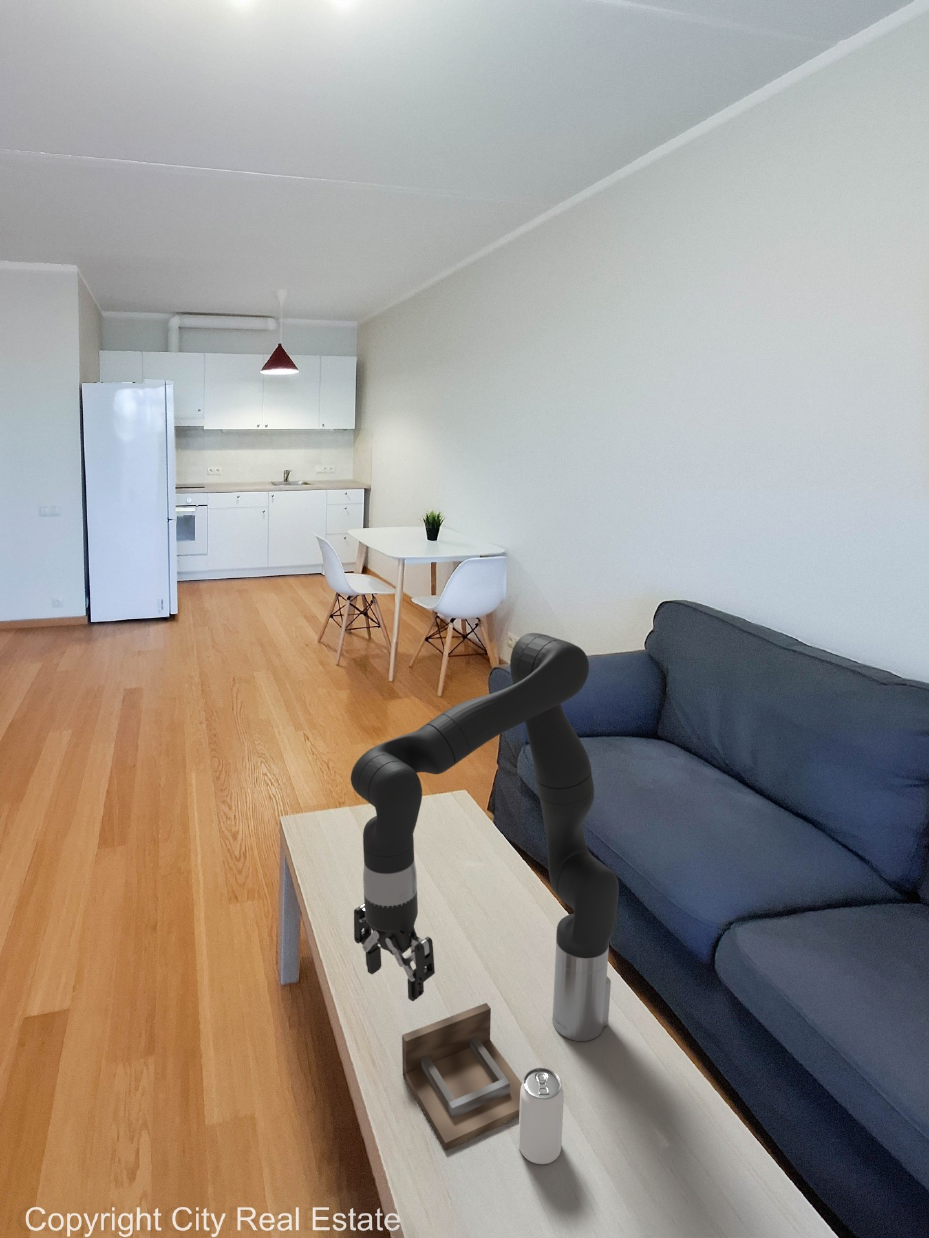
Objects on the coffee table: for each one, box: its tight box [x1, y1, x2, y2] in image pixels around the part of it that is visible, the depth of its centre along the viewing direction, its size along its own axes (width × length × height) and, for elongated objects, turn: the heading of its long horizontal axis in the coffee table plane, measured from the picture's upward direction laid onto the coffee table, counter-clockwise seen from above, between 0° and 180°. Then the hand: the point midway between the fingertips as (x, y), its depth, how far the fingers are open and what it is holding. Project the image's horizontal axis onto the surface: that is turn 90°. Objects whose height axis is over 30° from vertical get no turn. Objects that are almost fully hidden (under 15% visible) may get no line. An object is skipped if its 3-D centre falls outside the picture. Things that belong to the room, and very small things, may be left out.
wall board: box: [401, 1002, 523, 1152], centre depth 130 cm, size 16×16×8 cm
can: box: [518, 1067, 565, 1165], centre depth 120 cm, size 6×6×12 cm
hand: (394, 983), depth 118 cm, fingers open, 8 cm apart
